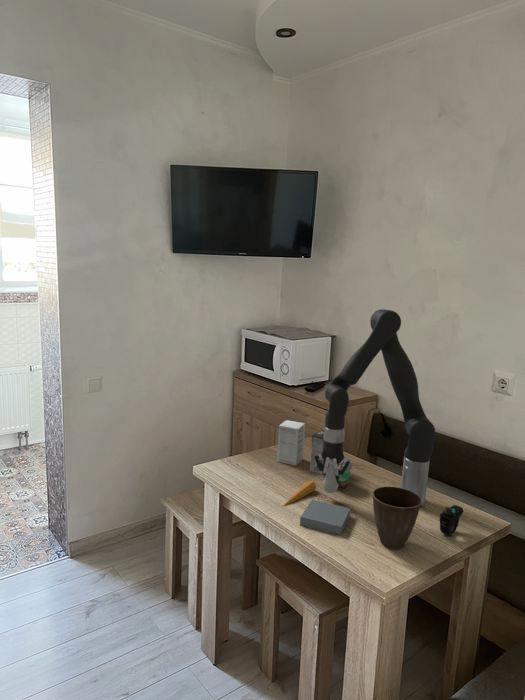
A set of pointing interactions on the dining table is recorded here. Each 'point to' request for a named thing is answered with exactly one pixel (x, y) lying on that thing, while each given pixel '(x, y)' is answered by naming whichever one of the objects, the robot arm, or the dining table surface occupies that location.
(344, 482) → the food container
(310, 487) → the carrot
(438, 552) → the dining table surface
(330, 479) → the salt shaker
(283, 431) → the supplement box
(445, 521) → the controller
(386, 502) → the plant pot
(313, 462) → the coffee box
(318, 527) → the base plinth
